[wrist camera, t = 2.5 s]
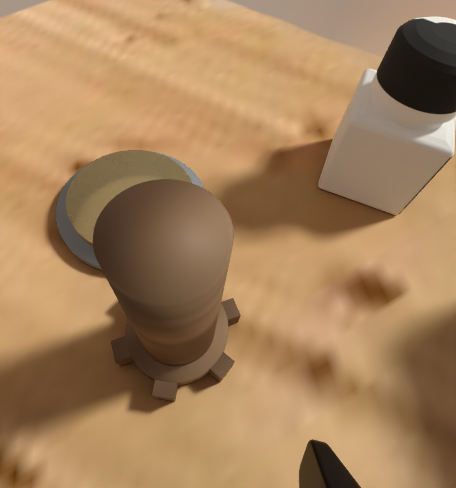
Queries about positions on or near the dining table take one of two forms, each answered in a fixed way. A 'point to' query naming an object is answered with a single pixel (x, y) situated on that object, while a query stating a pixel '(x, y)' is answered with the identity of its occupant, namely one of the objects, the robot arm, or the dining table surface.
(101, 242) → the gear spindle
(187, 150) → the dining table surface
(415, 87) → the medicine bottle
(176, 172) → the hub
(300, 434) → the dining table surface
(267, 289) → the dining table surface
